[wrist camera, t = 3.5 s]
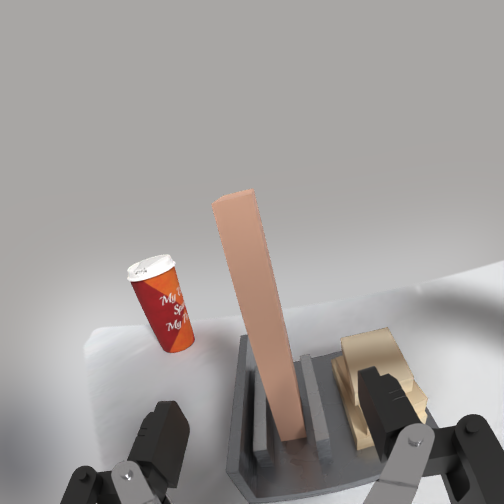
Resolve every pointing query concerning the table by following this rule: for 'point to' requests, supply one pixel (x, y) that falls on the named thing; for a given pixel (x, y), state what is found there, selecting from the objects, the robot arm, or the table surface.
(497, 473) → the robot arm
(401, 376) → the offcut stack
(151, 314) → the paper cup
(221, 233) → the pink rectangular bar
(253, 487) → the rack
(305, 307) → the table surface
